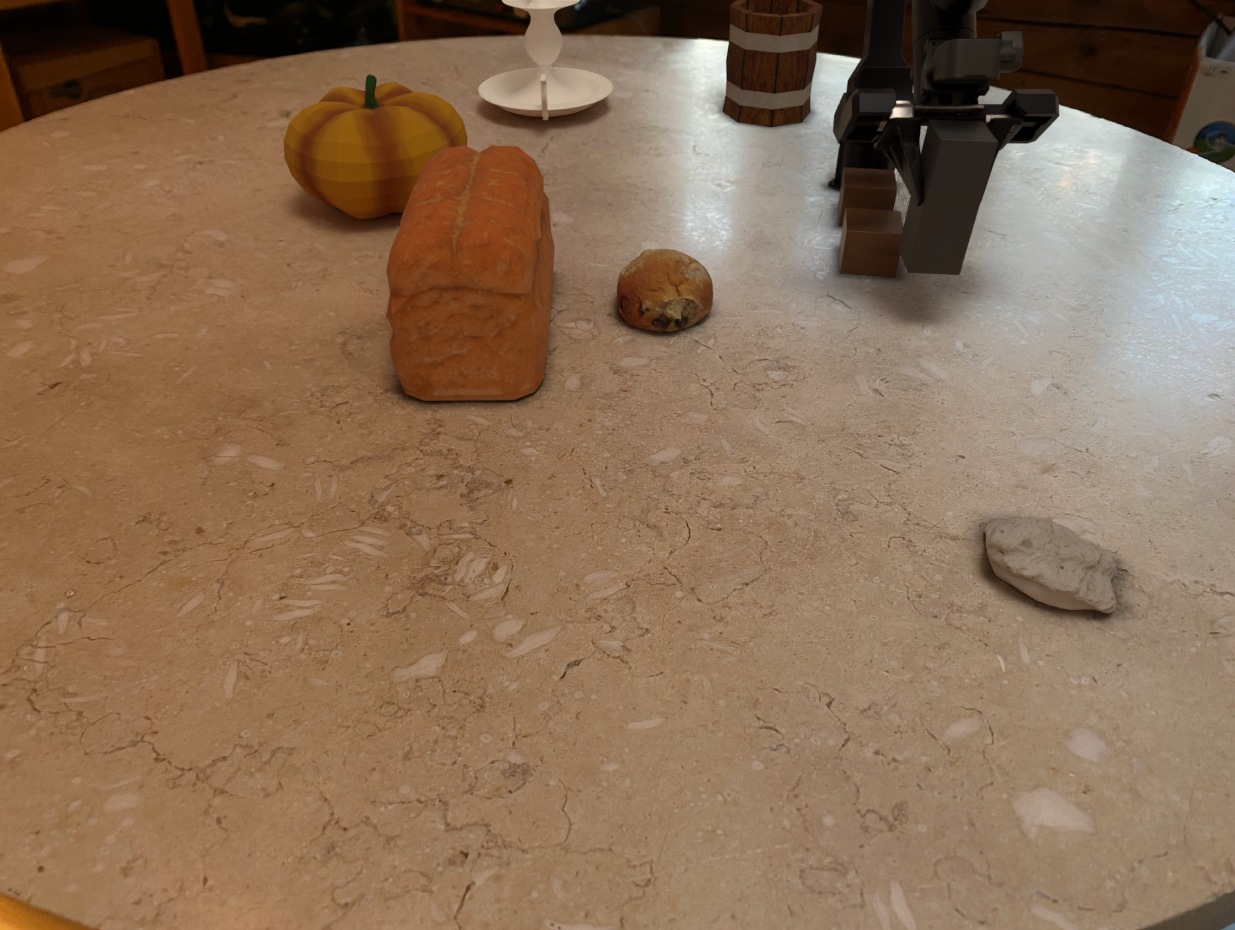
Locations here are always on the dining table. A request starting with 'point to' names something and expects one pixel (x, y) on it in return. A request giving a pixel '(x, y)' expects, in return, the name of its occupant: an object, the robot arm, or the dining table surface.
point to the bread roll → (664, 291)
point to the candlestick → (544, 71)
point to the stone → (1051, 563)
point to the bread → (472, 278)
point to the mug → (771, 61)
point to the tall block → (947, 196)
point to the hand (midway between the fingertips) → (948, 204)
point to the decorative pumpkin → (369, 145)
